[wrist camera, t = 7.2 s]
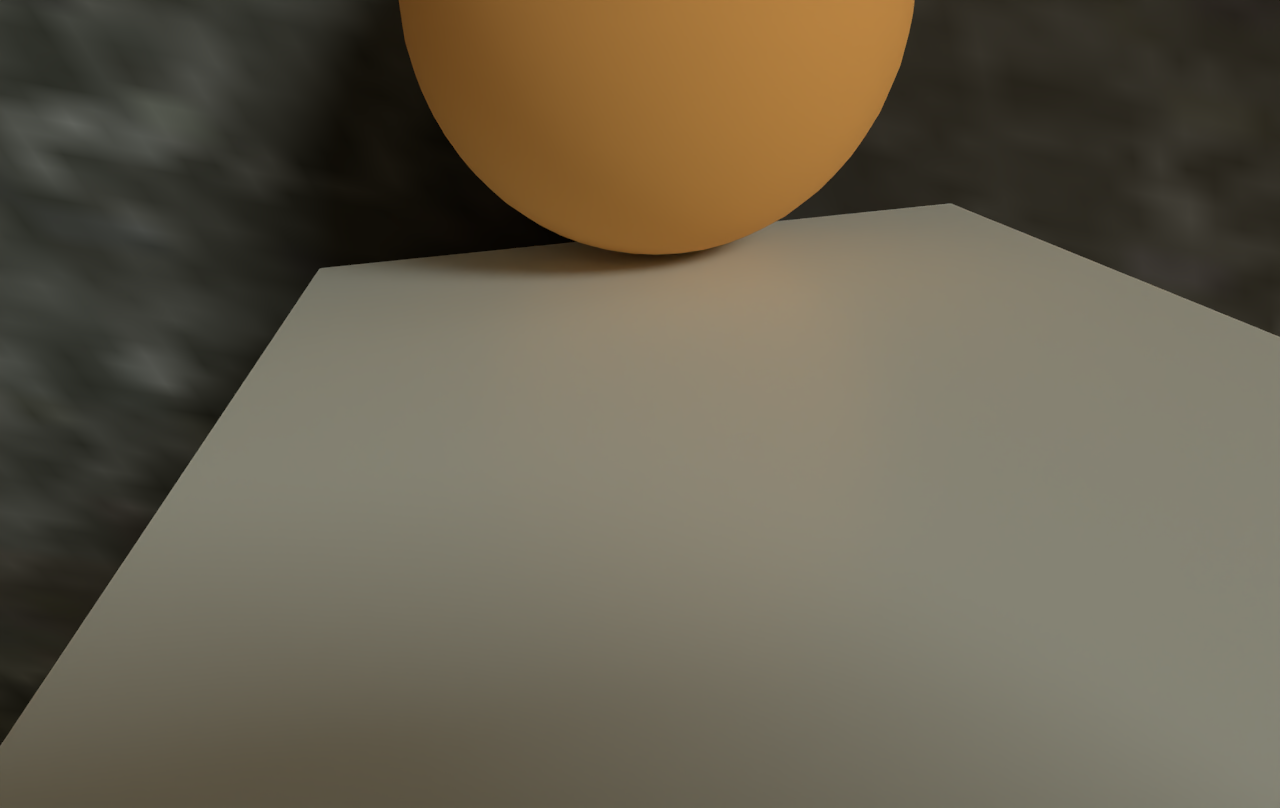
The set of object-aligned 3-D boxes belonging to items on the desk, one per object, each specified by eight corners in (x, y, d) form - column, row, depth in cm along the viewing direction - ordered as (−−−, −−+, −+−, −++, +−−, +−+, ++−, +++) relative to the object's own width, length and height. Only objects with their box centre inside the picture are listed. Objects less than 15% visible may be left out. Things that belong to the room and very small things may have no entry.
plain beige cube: (906, 673, 14) (1455, 1537, 6) (432, 754, 13) (344, 1901, 5) (950, 203, 11) (2286, 744, 3) (319, 268, 10) (-410, 1365, 2)
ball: (897, 322, 10) (1131, -150, 5) (454, 375, 9) (320, -110, 5) (786, 45, 12) (885, -425, 8) (434, 72, 12) (336, -421, 7)
